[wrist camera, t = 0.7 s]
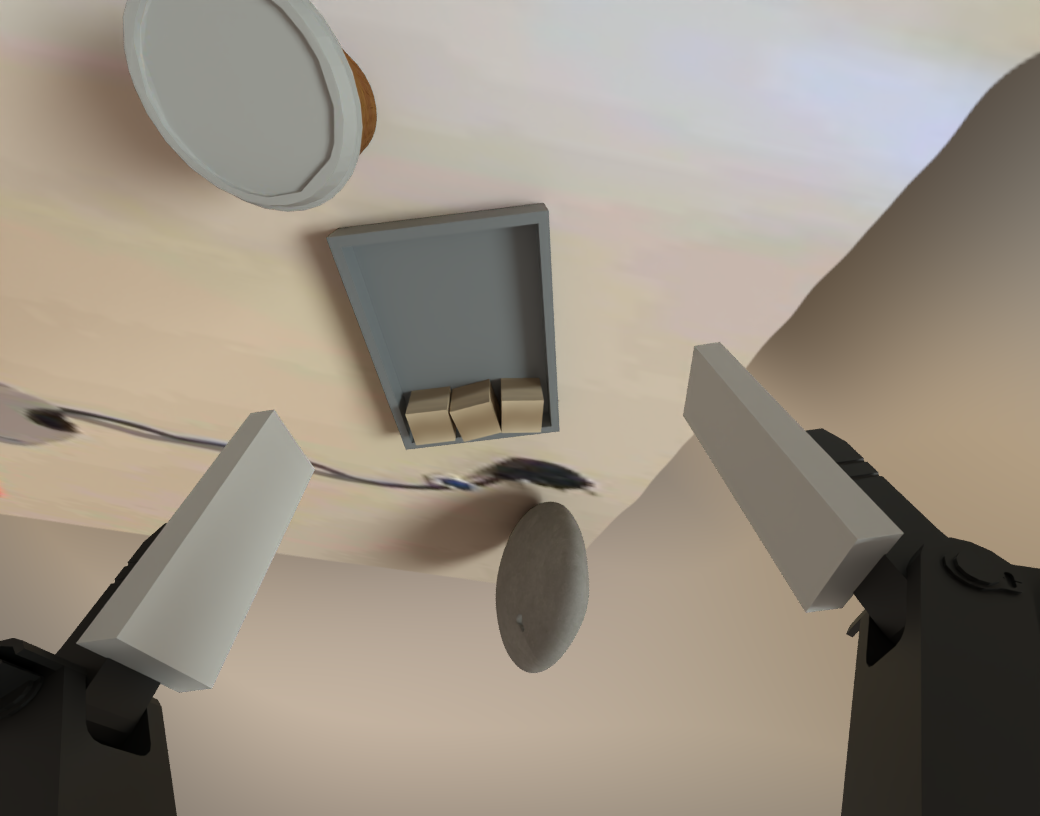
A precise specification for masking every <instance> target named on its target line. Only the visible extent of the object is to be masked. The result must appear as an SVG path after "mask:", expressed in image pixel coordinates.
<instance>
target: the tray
mask: <svg viewBox="0 0 1040 816" xmlns="http://www.w3.org/2000/svg"><path fill="white" fill-rule="evenodd" d="M326 239H327V241H328V244H329V247H330V249H331V252H332V254H333V257H334V260H335V262H336V265H337V268H338V270H339V273H340V276H341V278H342V281H343V284H344V286H345V289H346V292H347V294H348V297H349V300H350V302H351V305H352V308H353V310H354V313H355V316H356V318H357V321H358V323H359V326H360V329H361V331H362V334H363V337H364V339H365V342H366V345H367V347H368V350H369V353H370V355H371V358H372V361H373V363H374V366H375V369H376V371H377V374H378V377H379V379H380V382H381V385H382V387H383V390H384V392H385V395H386V398H387V400H388V403H389V406H390V408H391V411H392V414H393V416H394V419H395V422H396V424H397V427H398V430H399V432H400V435H401V438H402V440H403V443H404V446H405V448H406V450H407V449H416V448H424V447H432V446H441V445H449V444H457V443H466V442H474V441H482V440H491V439H499V438H508V437H516V436H524V435H533V434H541V433H549V432H558V431H559V412H558V392H557V372H556V351H555V331H554V311H553V291H552V271H551V250H550V230H549V210H548V209H547V207H546V206H545V204H544V203H541V204H532V205H524V206H516V207H508V208H500V209H492V210H484V211H475V212H467V213H459V214H451V215H443V216H435V217H427V218H418V219H410V220H402V221H394V222H386V223H378V224H370V225H361V226H353V227H345V228H338V229H337V230H336V231H334V232H333V233H332V234H330V235H329V236H328V237H326ZM501 378H539V379H540V384H541V389H542V394H543V399H544V404H543V416H542V427H541V432H534V433H502V432H501V433H497V434H493V435H489V436H486V437H482V438H478V439H474V440H470V441H466V442H464V441H463V439H462V437H461V435H460V433H459V431H458V429H457V428H456V438H455V441H449V442H440V443H432V444H424V445H416V444H415V441H414V438H413V435H412V432H411V429H410V427H409V424H408V421H407V418H406V415H405V414H406V410H407V407H408V403H409V399H410V396H411V392H412V391H415V390H423V389H432V388H440V387H448V386H450V388H451V392H452V389H454V388H458V387H461V386H465V385H469V384H473V383H476V382H480V381H484V380H487V379H489V380H490V383H491V385H492V388H493V390H494V393H495V395H496V398H497V401H498V403H499V406H500V408H501Z"/></svg>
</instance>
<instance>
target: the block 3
mask: <svg viewBox="0 0 1040 816" xmlns="http://www.w3.org/2000/svg"><path fill="white" fill-rule="evenodd" d="M543 404H544V399H543V394H542V389H541V384H540V379H539V378H501V429H502V433H534V432H541V427H542V416H543Z"/></svg>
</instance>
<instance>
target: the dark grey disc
mask: <svg viewBox="0 0 1040 816" xmlns="http://www.w3.org/2000/svg"><path fill="white" fill-rule="evenodd" d="M588 597H589V578H588V566H587V557H586V550H585V545H584V541H583V537H582V534H581V531H580V529H579V526H578V524H577V522H576V520H575V519H574V517H573V515H572V514H571V513H570V511H569V510H568V509H567V508H566V507H564V506H563V505H561V504H559V503H556V502H545V503H541V504H539V505H537V506H535V507H533V508H532V509H530V510H529V511H528V512H527V513H526V514H525V515H524V516H523V517H522V518H521V520H520V521H519V522H518V524H517V525H516V527H515V528H514V530H513V532H512V533H511V535H510V537H509V540H508V542H507V544H506V547H505V549H504V552H503V555H502V559H501V562H500V566H499V571H498V577H497V584H496V610H497V619H498V625H499V630H500V634H501V637H502V641H503V644H504V646H505V649H506V650H507V653H508V654H509V656H510V658H511V659H512V661H513V662H514V663H515V664H516V665H517V666H518V667H519V668H520V669H522V670H524V671H526V672H529V673H537V672H541V671H544V670H546V669H548V668H549V667H551V666H552V665H553V664H555V663H556V662H557V661H558V660H559V659H560V658H561V657H562V655H563V654H564V653H565V652H566V650H567V649H568V647H569V646H570V645H571V643H572V641H573V640H574V638H575V636H576V634H577V632H578V630H579V628H580V626H581V624H582V621H583V619H584V616H585V613H586V609H587V604H588Z"/></svg>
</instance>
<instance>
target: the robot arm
mask: <svg viewBox="0 0 1040 816" xmlns="http://www.w3.org/2000/svg"><path fill="white" fill-rule="evenodd" d="M683 416H684V418H685V419H686V421H687V422H688V424H689V426H690V427H691V429H692V430H693V432H694V434H695V435H696V437H697V438H698V440H699V442H700V443H701V445H702V446H703V448H704V450H705V451H706V453H707V455H708V456H709V458H710V459H711V461H712V463H713V464H714V466H715V467H716V469H717V471H718V472H719V474H720V475H721V477H722V479H723V480H724V482H725V484H726V485H727V487H728V488H729V490H730V492H731V493H732V495H733V496H734V498H735V500H736V501H737V503H738V504H739V506H740V508H741V509H742V511H743V512H744V514H745V516H746V517H747V519H748V521H749V522H750V524H751V525H752V527H753V529H754V530H755V532H756V533H757V535H758V537H759V538H760V540H761V541H762V543H763V545H764V546H765V548H766V549H767V551H768V553H769V554H770V556H771V558H772V559H773V561H774V562H775V564H776V565H777V567H778V569H779V570H780V572H781V573H782V575H783V577H784V578H785V580H786V582H787V583H788V585H789V586H790V588H791V590H792V591H793V593H794V595H795V596H796V597H797V599H798V601H799V602H800V604H801V606H802V607H803V609H804V610H805V612H806V613H807V612H815V611H822V610H830V609H838V608H843V607H844V605H845V604H846V603H847V602H848V600H849V599H850V598H851V597H852V596H853V594H854V595H855V596H856V598H857V599H858V600H859V602H860V603H861V604H862V606H863V607H864V608H865V610H864V611H863V612H862V613H861V614H860V615H859V616H858V617H857V618H856V620H855V621H854V622H853V623H852V624H851V625H850V627H849V629H848V631H847V635H849V636H851V637H853V636H854V635H855V634H856V633H857V632H858V631H859V640H858V650H857V660H856V670H855V680H854V690H853V700H852V710H851V721H850V731H849V741H848V751H847V761H846V771H845V781H844V793H843V803H842V812H841V816H1040V569H1038V568H1031V567H1025V566H1017V565H1011V564H1010V563H1008V562H1007V561H1005V560H1004V559H1002V558H1001V557H999V556H997V555H996V554H995V553H993V552H992V551H990V550H987V549H985V548H983V547H981V546H978V545H976V544H974V543H972V542H968V541H964V540H959V539H955V538H948V537H947V536H945V535H944V534H943V533H942V532H941V531H940V530H938V529H937V528H936V527H935V526H934V525H933V524H932V523H931V522H930V521H929V520H928V519H927V518H926V517H925V516H924V515H923V514H922V513H921V512H919V511H918V510H917V509H916V508H915V507H914V506H913V505H912V504H911V503H910V502H909V501H908V500H906V498H905V497H904V496H902V494H901V493H899V492H898V491H897V490H896V489H895V488H894V487H893V486H892V485H891V484H890V483H889V482H888V481H887V480H886V479H885V478H884V477H882V476H879V475H878V472H877V471H876V470H875V469H874V468H873V467H872V466H871V465H870V464H869V463H868V462H864V460H863V459H864V458H863V457H862V456H861V455H860V454H858V453H857V452H856V451H855V450H854V449H853V448H852V447H851V446H850V445H849V444H848V443H847V442H846V441H844V440H842V439H840V438H839V437H837V436H835V435H833V434H831V433H829V432H828V431H826V430H824V429H815V430H807V431H805V430H804V429H803V428H802V427H801V426H800V425H799V424H798V423H797V422H796V421H795V420H794V419H793V418H792V417H791V416H790V415H789V413H788V412H786V410H784V408H783V407H782V406H781V405H780V404H779V403H778V402H777V401H776V400H775V399H774V398H773V397H772V396H771V395H770V394H769V393H768V392H767V391H766V390H765V388H764V387H762V385H761V384H760V383H759V382H758V381H757V380H756V379H755V378H754V377H753V376H752V375H751V374H750V373H749V372H748V371H747V370H746V369H745V368H744V367H743V366H742V365H741V364H740V363H739V361H738V360H737V359H736V358H735V357H734V356H733V355H732V354H731V353H730V352H729V351H728V350H727V349H726V348H725V347H724V346H723V345H722V344H721V343H720V342H718V343H711V344H704V345H698V346H694V351H693V358H692V364H691V370H690V376H689V382H688V389H687V395H686V401H685V407H684V413H683ZM314 470H315V469H314V467H313V466H312V464H311V463H310V461H309V460H308V458H307V457H306V456H305V454H304V453H303V451H302V450H301V448H300V447H299V445H298V444H297V442H296V441H295V439H294V438H293V436H292V435H291V434H290V432H289V431H288V429H287V428H286V426H285V425H284V423H283V422H282V420H281V419H280V417H279V416H278V414H277V413H276V411H275V410H269V411H262V412H255V413H250V415H249V416H248V417H247V419H246V420H245V421H244V423H243V424H242V425H241V427H240V428H239V429H238V431H237V432H236V433H235V435H234V436H233V437H232V438H231V440H230V441H229V442H228V444H227V445H226V446H225V448H224V449H223V450H222V452H221V453H220V454H219V456H218V457H217V458H216V460H215V461H214V462H213V463H212V465H211V466H210V467H209V469H208V470H207V471H206V473H205V474H204V475H203V477H202V478H201V479H200V481H199V482H198V483H197V485H196V486H195V487H194V489H193V490H192V491H191V492H190V494H189V495H188V496H187V498H186V499H185V500H184V502H183V503H182V504H181V506H180V507H179V508H178V510H177V511H176V512H175V514H174V515H173V516H172V518H171V519H170V520H169V521H168V523H165V524H164V525H163V526H161V527H160V528H159V529H158V530H157V531H156V532H155V533H153V534H152V535H151V536H150V537H149V538H148V539H147V540H145V541H144V542H143V544H142V545H141V546H140V548H139V549H138V550H137V551H136V553H135V554H134V555H133V557H132V558H131V559H130V560H129V561H128V566H125V567H124V568H123V569H122V570H121V572H120V573H119V574H118V576H117V577H116V578H115V583H113V584H111V585H110V586H109V587H108V588H107V590H106V591H105V592H104V594H103V595H102V596H101V597H100V599H99V600H98V601H97V603H96V604H95V605H94V606H93V608H92V609H91V610H90V611H89V613H88V614H87V615H86V617H85V618H84V619H83V620H82V622H81V623H80V624H79V626H78V627H77V628H76V629H75V631H74V632H73V633H72V635H71V636H70V637H69V638H68V640H67V641H66V642H65V644H64V645H63V646H62V647H61V649H60V650H59V651H58V652H57V653H56V654H55V655H54V654H52V653H50V652H47V651H45V650H43V649H41V648H38V647H36V646H34V645H32V644H29V643H27V642H25V641H22V640H19V639H15V638H11V639H7V640H3V641H0V816H177V815H176V814H177V813H176V807H175V800H174V793H173V786H172V778H171V771H170V764H169V758H168V757H169V756H168V749H167V743H166V735H165V728H164V721H163V714H162V707H161V705H160V703H159V701H158V700H157V699H155V698H153V695H154V694H155V692H156V690H157V688H158V687H159V685H160V684H162V685H164V686H166V687H168V688H170V689H173V690H175V691H177V692H179V693H180V692H187V691H195V690H203V689H211V688H212V687H213V685H214V683H215V681H216V678H217V676H218V674H219V672H220V670H221V668H222V666H223V664H224V661H225V659H226V657H227V655H228V653H229V651H230V649H231V647H232V644H233V642H234V640H235V638H236V636H237V634H238V632H239V629H240V627H241V625H242V623H243V621H244V619H245V617H246V614H247V612H248V610H249V608H250V606H251V604H252V602H253V600H254V597H255V595H256V593H257V591H258V589H259V587H260V585H261V582H262V581H263V578H264V576H265V574H266V572H267V570H268V567H269V566H270V563H271V561H272V559H273V557H274V555H275V553H276V551H277V549H278V546H279V544H280V542H281V540H282V538H283V536H284V534H285V532H286V529H287V527H288V525H289V523H290V521H291V519H292V517H293V514H294V512H295V510H296V508H297V506H298V504H299V502H300V500H301V497H302V495H303V493H304V491H305V489H306V487H307V485H308V483H309V480H310V478H311V476H312V474H313V472H314Z"/></svg>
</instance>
